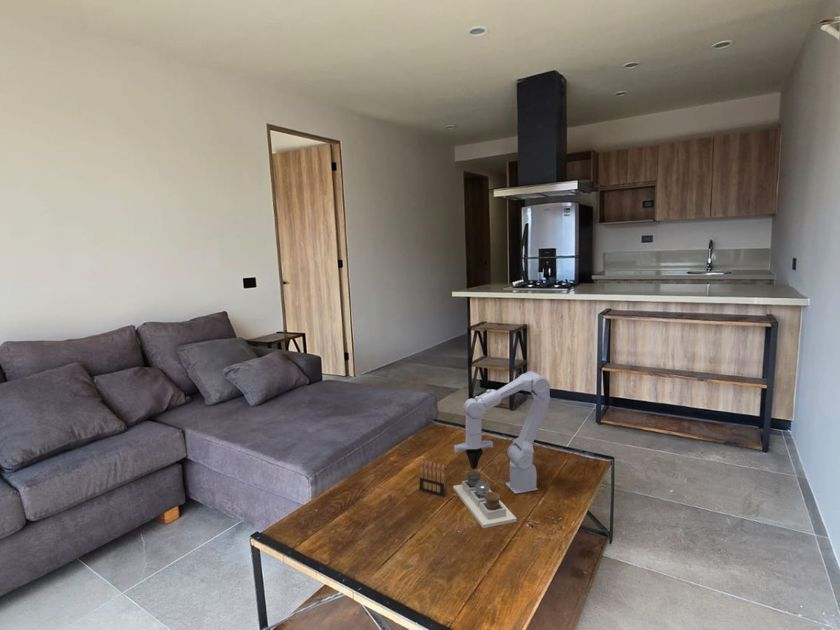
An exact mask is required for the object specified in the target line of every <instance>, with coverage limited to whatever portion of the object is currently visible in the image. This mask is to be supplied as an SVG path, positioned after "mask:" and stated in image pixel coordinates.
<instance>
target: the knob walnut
mask: <svg viewBox="0 0 840 630" xmlns="http://www.w3.org/2000/svg"><path fill="white" fill-rule="evenodd" d="M485 499H486V507H487V508H488V509H490V510H497V509H498V508H499V500H500V501H501V494H499V493H498V492H494V491H492V492H488V493H486V494H485Z"/></svg>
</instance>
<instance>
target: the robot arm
mask: <svg viewBox="0 0 840 630" xmlns="http://www.w3.org/2000/svg"><path fill="white" fill-rule="evenodd" d="M551 386H552V385H551V384H550V382H549V380H548V379H547V378H546V377H545V376H542V375H540V374H538V373H537V372H535V371H533V370H529V371H526V372H525V373H522V374H520V375H519V376H518V377H517V378H515V379H514V380H512V381H511V382H509V383H507V384H505V385H504V386H502V387H501V388H498V389H497V390H496V389H490V388H489V389H486V390H485V391H486V392H484V393H482V394H480V395H479V396H478V395H476V396H474V398H468V399H467V400H466V401H465V402H464V404H463V405H462V408H463V410H464V412H465V442H461V443H459V444H455V445H453V450H454V452H455V453H459V452H463V451H464V452H465V454H466V456H467V458H468V461H469V464H470V465H469V466H470V468H471V470H477V468H478V466H479V465H478V464H479V461H480V459H481V457H482V456H483V453H484V450H483V449H485V448H493V447H494V442H493V441H492V440H482V416H483V415H484V413H485V412H486V411H488V410H490V409H492V408H493V407H496V406H498V405H500V404H501V402H502V399H505V398H507V397H509V396H511V395H513V394H515V393H517V392H520V391H525V392H529V393H531V396H532V397H533V401H532V403H531V405H530V408H529V410H528V413H527V416H526V418H525V421H524V424H523V426H522V428H521V431H520V433H519V435H518V437H517V438H514V439H513V442H512V443H511V444H510V445H509V446H508V448H507V456H508V457H509V458H510V459H509V481H508V482H505V483H504V484H505V485H506V486H507V488H508V489H509V490H511V492H512V493H514V494H515V495H516V494H522V493H528V492H532V491H537V490H538V488H537V476H538V474H537V469H536V468H537V467H536V466H535V465H534V463H533V462H534V461H533V458H534V452H535V449H534V445H533V443H534V441H535V439H536V436H537V433H538V431H539V428H540V426H541V424H542V421H543V418H544V416H545V414H546V411H547V409H548V406H549V403H550V402H551V401H550V400H551V395H550V390H551Z"/></svg>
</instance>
